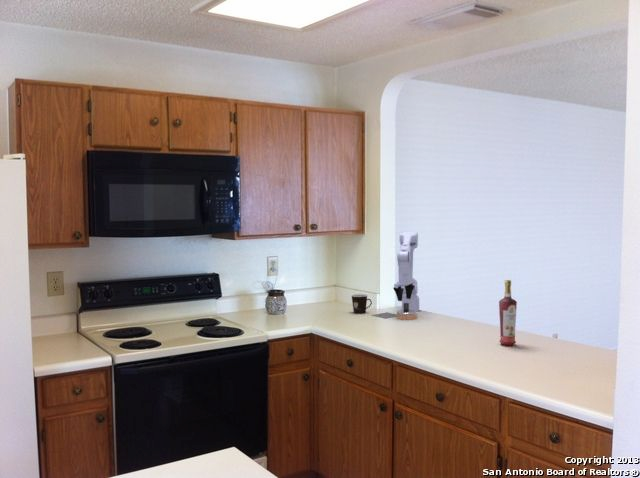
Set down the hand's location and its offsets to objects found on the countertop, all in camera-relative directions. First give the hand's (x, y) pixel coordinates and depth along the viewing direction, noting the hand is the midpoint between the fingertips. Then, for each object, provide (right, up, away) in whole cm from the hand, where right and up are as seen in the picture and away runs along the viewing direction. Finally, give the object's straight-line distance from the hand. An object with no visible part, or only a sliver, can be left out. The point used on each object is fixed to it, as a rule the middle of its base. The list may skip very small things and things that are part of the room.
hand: (404, 299), depth 329 cm
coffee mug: (-22, -9, +14) cm, 28 cm away
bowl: (+1, -10, -2) cm, 10 cm away
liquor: (+37, -14, -58) cm, 70 cm away
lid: (+1, -7, -1) cm, 7 cm away
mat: (-9, -10, +6) cm, 14 cm away
